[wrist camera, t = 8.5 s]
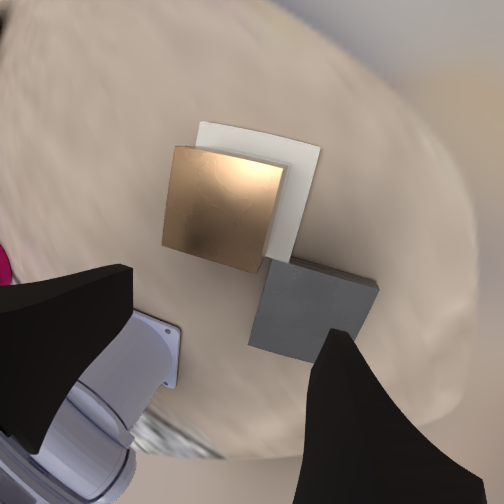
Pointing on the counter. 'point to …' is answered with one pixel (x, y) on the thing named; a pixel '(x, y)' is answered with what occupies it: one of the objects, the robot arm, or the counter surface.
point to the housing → (224, 204)
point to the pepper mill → (4, 269)
